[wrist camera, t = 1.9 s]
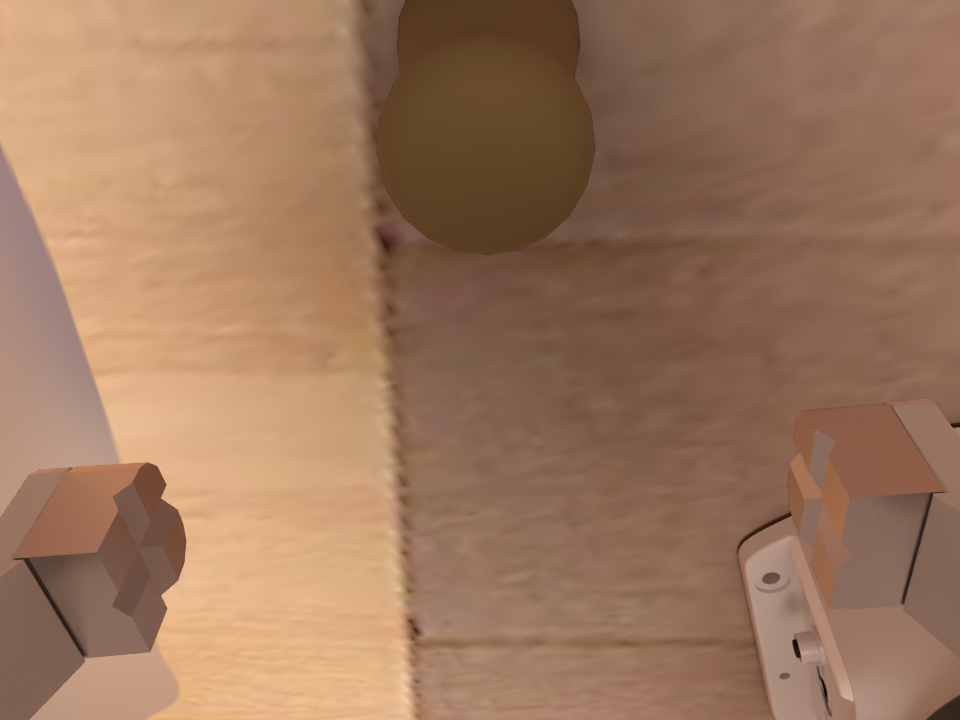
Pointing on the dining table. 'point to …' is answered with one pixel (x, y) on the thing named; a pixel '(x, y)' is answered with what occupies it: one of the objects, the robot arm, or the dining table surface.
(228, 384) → the dining table surface
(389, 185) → the olive brown pawn
